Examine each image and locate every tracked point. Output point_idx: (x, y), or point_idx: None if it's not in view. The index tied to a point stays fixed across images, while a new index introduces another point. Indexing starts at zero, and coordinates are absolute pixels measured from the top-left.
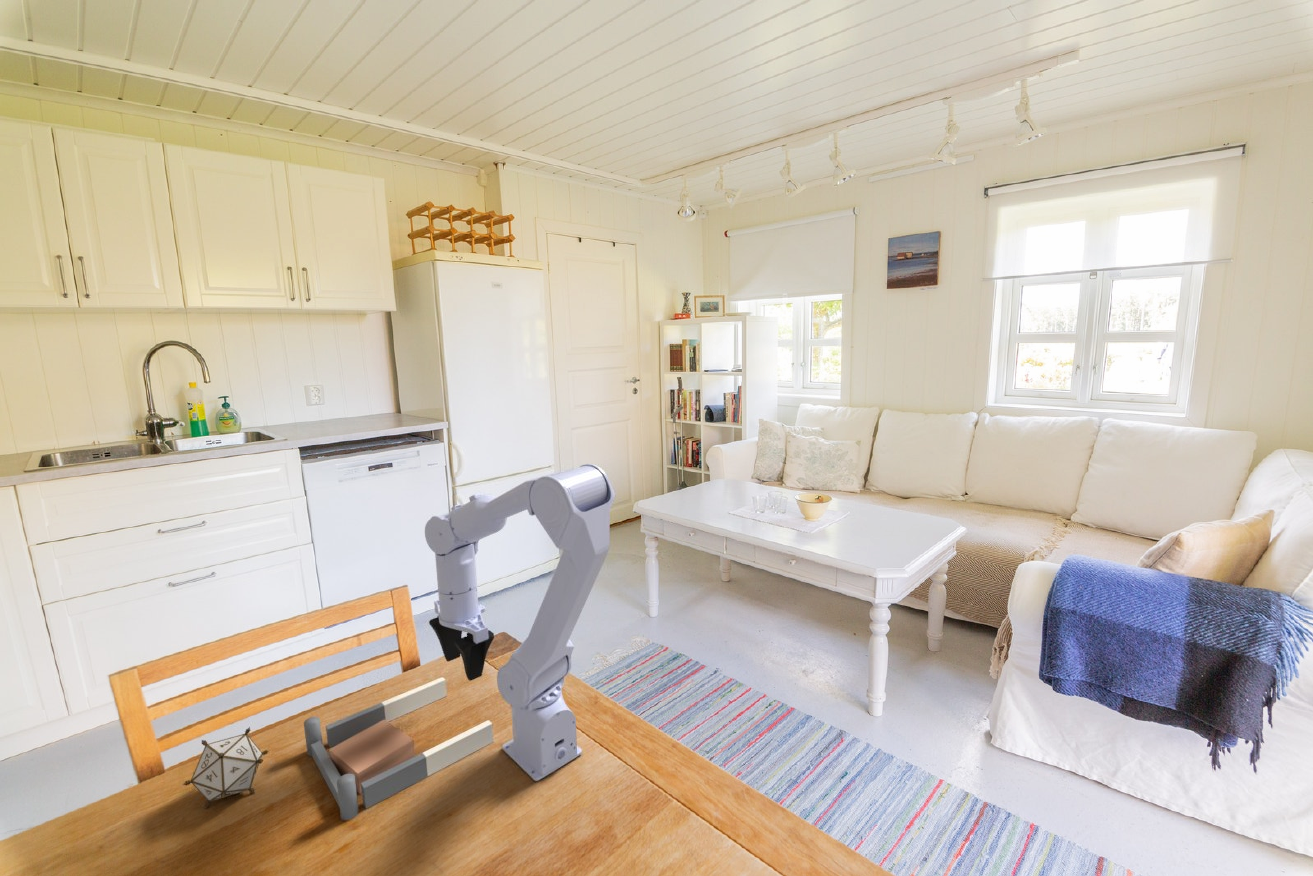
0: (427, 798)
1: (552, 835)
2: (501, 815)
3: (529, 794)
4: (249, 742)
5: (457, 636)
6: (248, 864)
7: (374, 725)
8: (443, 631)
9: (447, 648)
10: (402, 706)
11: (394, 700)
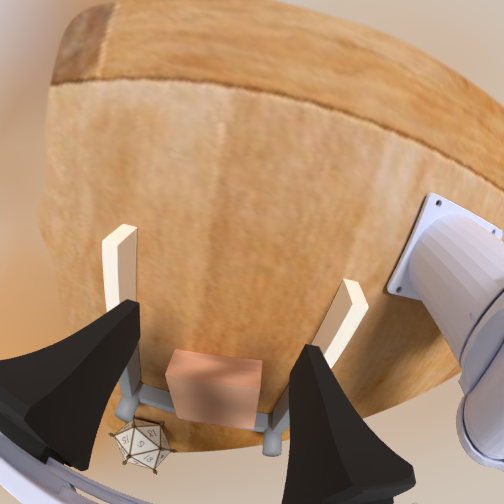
0: (339, 383)
1: None
2: (437, 354)
3: None
4: (139, 454)
5: (95, 364)
6: (248, 446)
7: (169, 385)
8: (89, 431)
9: (118, 368)
10: None
11: None
